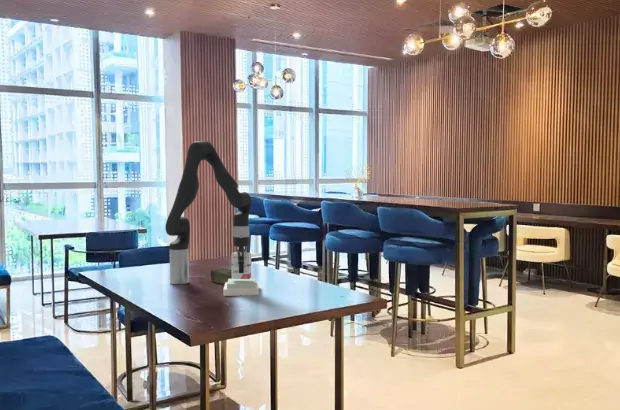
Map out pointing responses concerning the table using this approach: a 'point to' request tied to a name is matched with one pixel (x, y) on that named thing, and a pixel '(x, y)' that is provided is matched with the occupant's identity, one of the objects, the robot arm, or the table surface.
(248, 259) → the ink box
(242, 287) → the mint framed tile
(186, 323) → the table surface
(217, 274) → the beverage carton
